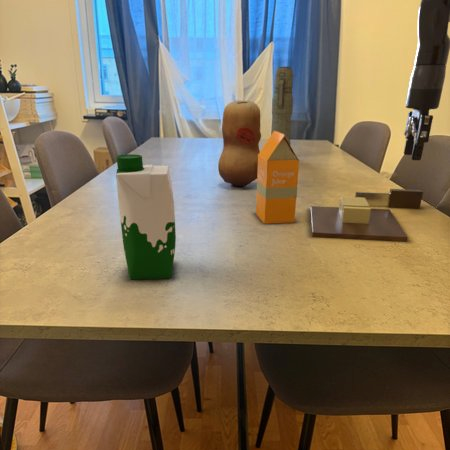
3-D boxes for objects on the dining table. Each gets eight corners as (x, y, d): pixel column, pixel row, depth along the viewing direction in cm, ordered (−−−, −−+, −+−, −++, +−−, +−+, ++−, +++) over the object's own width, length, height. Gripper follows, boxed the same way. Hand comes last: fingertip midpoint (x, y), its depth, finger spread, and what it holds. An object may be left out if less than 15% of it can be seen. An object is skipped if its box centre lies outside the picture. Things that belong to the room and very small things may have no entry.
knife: (417, 206, 117) (421, 189, 115) (419, 208, 116) (423, 191, 113) (353, 203, 120) (355, 187, 118) (354, 205, 118) (356, 189, 116)
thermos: (268, 157, 188) (272, 66, 172) (270, 153, 198) (274, 67, 182) (289, 158, 186) (295, 66, 170) (290, 154, 197) (295, 67, 181)
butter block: (362, 211, 109) (364, 197, 108) (367, 220, 102) (369, 206, 101) (338, 210, 110) (340, 196, 109) (341, 219, 103) (343, 204, 102)
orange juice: (284, 212, 112) (289, 130, 103) (295, 222, 104) (302, 134, 95) (255, 213, 111) (258, 130, 102) (263, 223, 103) (267, 135, 94)
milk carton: (129, 262, 82) (118, 152, 72) (177, 261, 82) (172, 151, 73) (124, 282, 74) (109, 161, 65) (177, 280, 74) (170, 160, 65)
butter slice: (367, 222, 101) (370, 207, 100) (368, 223, 100) (371, 209, 98) (341, 220, 102) (343, 206, 101) (342, 222, 101) (344, 207, 99)
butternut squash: (223, 191, 132) (223, 102, 121) (215, 182, 144) (214, 99, 132) (266, 189, 135) (270, 101, 123) (255, 180, 146) (257, 99, 135)
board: (388, 213, 112) (389, 209, 111) (406, 241, 92) (407, 237, 92) (310, 209, 114) (310, 206, 114) (312, 236, 95) (312, 232, 95)
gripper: (451, 87, 96) (434, 162, 104) (433, 86, 109) (420, 153, 116) (416, 87, 97) (402, 161, 105) (402, 86, 110) (391, 152, 117)
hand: (411, 157), depth 110 cm, fingers open, 8 cm apart
